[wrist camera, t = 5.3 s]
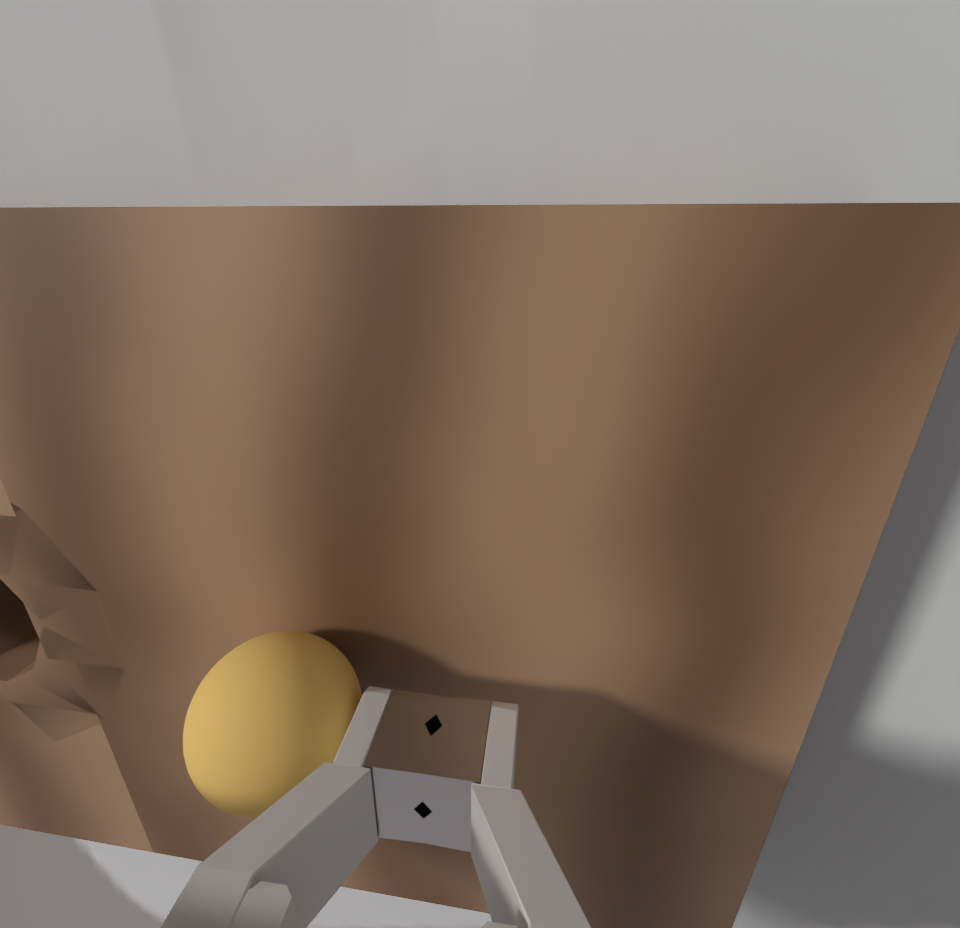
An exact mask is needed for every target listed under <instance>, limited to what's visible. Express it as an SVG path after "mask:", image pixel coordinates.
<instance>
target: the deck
mask: <svg viewBox="0 0 960 928" xmlns="http://www.w3.org/2000/svg"><path fill="white" fill-rule="evenodd" d="M959 330H960V203H828V204H636V205H444V206H252V207H60V208H0V824H2V825H7V826H13V827H18V828H23V829H29V830H34V831H40V832H45V833H51V834H56V835H62V836H67V837H73V838H78V839H84V840H89V841H95V842H100V843H106V844H111V845H117V846H122V847H128V848H133V849H139V850H144V851H150V852H155V853H161V854H166V855H172V856H177V857H183V858H188V859H194V860H199V861H204V860H205V859H207V858H208V857H209V856H210V855H211V854H213V853H214V852H215V851H216V850H218V849H219V848H220V847H221V846H222V845H224V844H225V843H226V842H227V841H229V840H230V839H231V838H232V837H234V836H235V835H236V834H237V833H238V832H240V831H241V830H242V829H243V828H245V827H246V826H247V825H248V824H249V823H251V822H252V821H253V820H254V819H256V818H243V817H239V816H234V815H232V814H229V813H226V812H224V811H222V810H220V809H218V808H217V807H215V806H214V805H212V804H211V803H210V802H208V801H207V800H206V799H205V798H204V797H203V796H202V794H201V793H200V792H199V791H198V790H197V788H196V787H195V786H194V784H193V782H192V779H191V777H190V775H189V773H188V771H187V768H186V763H185V759H184V754H183V730H184V723H185V718H186V715H187V711H188V708H189V705H190V703H191V701H192V698H193V696H194V694H195V692H196V690H197V688H198V687H199V685H200V683H201V682H202V680H203V679H204V677H205V676H206V675H207V674H208V672H209V671H210V670H211V669H212V668H213V667H214V666H215V665H216V663H217V662H218V661H219V660H221V659H222V658H223V657H224V656H225V655H226V654H228V653H229V652H230V651H232V650H233V649H234V648H236V647H238V646H239V645H241V644H242V643H244V642H246V641H248V640H250V639H252V638H255V637H258V636H260V635H264V634H268V633H272V632H278V631H300V632H306V633H310V634H313V635H316V636H319V637H321V638H323V639H325V640H327V641H328V642H330V643H331V644H333V645H334V646H336V647H337V648H338V649H339V650H340V651H341V652H342V653H343V654H344V655H345V656H346V658H347V659H348V661H349V662H350V664H351V665H352V667H353V669H354V671H355V673H356V676H357V678H358V680H359V684H360V688H361V693H362V695H363V693H364V692H365V691H366V689H367V688H368V687H369V686H374V687H382V688H389V689H397V690H404V691H410V692H417V693H424V694H430V695H437V696H453V697H462V698H471V699H480V700H490V701H492V702H493V701H495V702H503V703H511V704H518V706H519V712H518V729H517V746H516V763H515V780H514V789H518V790H521V791H522V793H523V795H524V797H525V799H526V801H527V803H528V805H529V807H530V809H531V810H532V812H533V814H534V816H535V818H536V820H537V822H538V824H539V826H540V828H541V830H542V832H543V834H544V836H545V838H546V840H547V842H548V844H549V846H550V848H551V850H552V852H553V854H554V856H555V858H556V860H557V862H558V864H559V866H560V868H561V870H562V872H563V873H564V875H565V877H566V879H567V881H568V883H569V885H570V887H571V889H572V891H573V893H574V895H575V897H576V899H577V901H578V903H579V905H580V907H581V909H582V911H583V913H584V915H585V917H586V919H587V921H588V923H589V925H590V927H591V928H732V926H733V923H734V921H735V918H736V915H737V913H738V910H739V907H740V905H741V902H742V900H743V897H744V894H745V892H746V889H747V886H748V884H749V881H750V879H751V876H752V873H753V871H754V868H755V865H756V863H757V860H758V858H759V855H760V852H761V850H762V847H763V844H764V842H765V839H766V837H767V834H768V831H769V829H770V826H771V823H772V821H773V818H774V816H775V813H776V810H777V808H778V805H779V802H780V800H781V797H782V795H783V792H784V789H785V787H786V784H787V781H788V779H789V776H790V774H791V771H792V768H793V766H794V763H795V760H796V758H797V755H798V753H799V750H800V747H801V745H802V742H803V739H804V737H805V734H806V731H807V729H808V726H809V724H810V721H811V718H812V716H813V713H814V710H815V708H816V705H817V703H818V700H819V697H820V695H821V692H822V689H823V687H824V684H825V682H826V679H827V676H828V674H829V671H830V668H831V666H832V663H833V661H834V658H835V655H836V653H837V650H838V647H839V645H840V642H841V640H842V637H843V634H844V632H845V629H846V626H847V624H848V621H849V619H850V616H851V613H852V611H853V608H854V605H855V603H856V600H857V598H858V595H859V592H860V590H861V587H862V584H863V582H864V579H865V577H866V574H867V571H868V569H869V566H870V563H871V561H872V558H873V556H874V553H875V550H876V548H877V545H878V542H879V540H880V537H881V535H882V532H883V529H884V527H885V524H886V521H887V519H888V516H889V514H890V511H891V508H892V506H893V503H894V500H895V498H896V495H897V493H898V490H899V487H900V485H901V482H902V479H903V477H904V474H905V472H906V469H907V466H908V464H909V461H910V458H911V456H912V453H913V451H914V448H915V445H916V443H917V440H918V437H919V435H920V432H921V430H922V427H923V424H924V422H925V419H926V416H927V414H928V411H929V408H930V406H931V403H932V401H933V398H934V395H935V393H936V390H937V387H938V385H939V382H940V380H941V377H942V374H943V372H944V369H945V366H946V364H947V361H948V359H949V356H950V353H951V351H952V348H953V345H954V343H955V340H956V338H957V335H958V332H959ZM341 886H342V887H348V888H353V889H359V890H364V891H370V892H375V893H381V894H386V895H392V896H397V897H403V898H408V899H414V900H419V901H425V902H430V903H436V904H441V905H447V906H452V907H458V908H463V909H469V910H474V911H480V912H485V913H490V912H489V909H488V906H487V903H486V900H485V897H484V894H483V891H482V888H481V885H480V882H479V879H478V875H477V872H476V869H475V866H474V863H473V860H472V857H471V852H467V851H462V850H456V849H451V848H446V847H441V846H436V845H430V844H425V843H418V842H410V841H402V840H394V839H386V838H379V837H378V842H377V843H376V844H375V846H374V847H373V848H372V849H371V850H370V852H369V853H368V854H367V855H366V856H365V858H364V859H363V860H362V861H361V862H360V864H359V865H358V866H357V867H356V868H355V870H354V871H353V872H352V873H351V874H350V876H349V877H348V878H347V879H346V880H345V882H344V883H343V884H342V885H341Z"/></svg>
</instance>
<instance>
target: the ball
mask: <svg viewBox="0 0 960 928" xmlns="http://www.w3.org/2000/svg"><path fill="white" fill-rule="evenodd" d="M361 698H362V693H361V688H360V684H359V680H358V678H357V676H356V673H355V671H354V669H353V667H352V665H351V664H350V662H349V661H348V659H347V658H346V656H345V655H344V654H343V653H342V652H341V651H340V650H339V649H338V648H337V647H336V646H334V645H333V644H331V643H330V642H328V641H327V640H325V639H323V638H321V637H319V636H316V635H313V634H310V633H306V632H300V631H278V632H272V633H268V634H264V635H260V636H258V637H255V638H252V639H250V640H248V641H246V642H244V643H242V644H241V645H239V646H238V647H236V648H234V649H233V650H232V651H230V652H229V653H228V654H226V655H225V656H224V657H223V658H222V659H221V660H219V661H218V662H217V663H216V665H215V666H214V667H213V668H212V669H211V670H210V671H209V672H208V674H207V675H206V676H205V677H204V679H203V680H202V682H201V683H200V685H199V687H198V688H197V690H196V692H195V694H194V696H193V698H192V701H191V703H190V705H189V708H188V711H187V715H186V718H185V723H184V730H183V754H184V759H185V763H186V768H187V771H188V773H189V775H190V777H191V779H192V782H193V784H194V786H195V787H196V788H197V790H198V791H199V792H200V793H201V794H202V796H203V797H204V798H205V799H206V800H207V801H208V802H210V803H211V804H212V805H214V806H215V807H217V808H218V809H220V810H222V811H224V812H226V813H229V814H232V815H234V816H239V817H243V818H257V817H258V816H259V815H261V814H262V813H263V812H264V811H265V810H267V809H268V808H269V807H270V806H272V805H273V804H274V803H275V802H277V801H278V800H279V799H280V798H281V797H283V796H284V795H285V794H286V793H288V792H289V791H290V790H291V789H292V788H294V787H295V786H296V785H297V784H299V783H300V782H301V781H302V780H304V779H305V778H306V777H307V776H308V775H310V774H311V773H312V772H313V771H315V770H316V769H317V768H318V767H320V766H321V765H322V764H323V763H324V762H330V763H333V761H334V759H335V757H336V754H337V752H338V750H339V747H340V745H341V743H342V741H343V738H344V736H345V734H346V732H347V729H348V727H349V725H350V723H351V720H352V718H353V716H354V714H355V711H356V709H357V707H358V704H359V702H360V700H361Z"/></svg>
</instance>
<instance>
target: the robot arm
mask: <svg viewBox="0 0 960 928" xmlns="http://www.w3.org/2000/svg"><path fill="white" fill-rule="evenodd" d="M518 712H519V706H518V704H511V703H503V702H495V701H493V702H492V701H490V700H480V699H471V698H462V697H453V696H437V695H430V694H424V693H417V692H410V691H404V690H397V689H389V688H382V687H374V686H369V687H368V688H367V689H366V691H365V692H364V693H363V695H362V698H361V700H360V702H359V704H358V707H357V709H356V711H355V714H354V716H353V718H352V720H351V723H350V725H349V727H348V729H347V732H346V734H345V736H344V738H343V741H342V743H341V745H340V747H339V750H338V752H337V754H336V757H335V759H334V761H333V763H330V762H324V763H323V764H322V765H321V766H320V767H318V768H317V769H316V770H315V771H313V772H312V773H311V774H310V775H308V776H307V777H306V778H305V779H304V780H302V781H301V782H300V783H299V784H297V785H296V786H295V787H294V788H292V789H291V790H290V791H289V792H288V793H286V794H285V795H284V796H283V797H281V798H280V799H279V800H278V801H277V802H275V803H274V804H273V805H272V806H270V807H269V808H268V809H267V810H265V811H264V812H263V813H262V814H261V815H259V816H258V817H257V818H256V819H254V820H253V821H252V822H251V823H249V824H248V825H247V826H246V827H245V828H243V829H242V830H241V831H240V832H238V833H237V834H236V835H235V836H234V837H232V838H231V839H230V840H229V841H227V842H226V843H225V844H224V845H222V846H221V847H220V848H219V849H218V850H216V851H215V852H214V853H213V854H211V855H210V856H209V857H208V858H207V859H205V860H204V861H203V862H202V863H200V864H199V865H198V866H197V867H196V869H195V871H194V872H193V874H192V876H191V878H190V879H189V881H188V883H187V884H186V886H185V888H184V889H183V891H182V893H181V894H180V896H179V898H178V899H177V901H176V903H175V904H174V906H173V908H172V909H171V911H170V913H169V915H168V916H167V918H166V920H165V921H164V923H163V925H162V926H161V928H306V927H307V926H308V925H309V924H310V922H311V921H312V920H313V919H314V918H315V916H316V915H317V914H318V913H319V912H320V910H321V909H322V908H323V907H324V906H325V904H326V903H327V902H328V901H329V900H330V898H331V897H332V896H333V895H334V894H335V892H336V891H337V890H338V889H339V888H340V886H341V885H342V884H343V883H344V882H345V880H346V879H347V878H348V877H349V876H350V874H351V873H352V872H353V871H354V870H355V868H356V867H357V866H358V865H359V864H360V862H361V861H362V860H363V859H364V858H365V856H366V855H367V854H368V853H369V852H370V850H371V849H372V848H373V847H374V846H375V844H376V843H377V842H378V837H379V838H386V839H394V840H402V841H410V842H418V843H425V844H430V845H436V846H441V847H446V848H451V849H456V850H462V851H467V852H471V857H472V860H473V863H474V866H475V869H476V872H477V875H478V879H479V882H480V885H481V888H482V891H483V894H484V897H485V900H486V903H487V906H488V909H489V912H490V915H491V919H492V922H489V921H488V922H487V923H486V924H485V925H484V926H483V927H482V928H591V927H590V925H589V923H588V921H587V919H586V917H585V915H584V913H583V911H582V909H581V907H580V905H579V903H578V901H577V899H576V897H575V895H574V893H573V891H572V889H571V887H570V885H569V883H568V881H567V879H566V877H565V875H564V873H563V872H562V870H561V868H560V866H559V864H558V862H557V860H556V858H555V856H554V854H553V852H552V850H551V848H550V846H549V844H548V842H547V840H546V838H545V836H544V834H543V832H542V830H541V828H540V826H539V824H538V822H537V820H536V818H535V816H534V814H533V812H532V810H531V809H530V807H529V805H528V803H527V801H526V799H525V797H524V795H523V793H522V791H521V790H518V789H514V780H515V763H516V746H517V729H518Z"/></svg>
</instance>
